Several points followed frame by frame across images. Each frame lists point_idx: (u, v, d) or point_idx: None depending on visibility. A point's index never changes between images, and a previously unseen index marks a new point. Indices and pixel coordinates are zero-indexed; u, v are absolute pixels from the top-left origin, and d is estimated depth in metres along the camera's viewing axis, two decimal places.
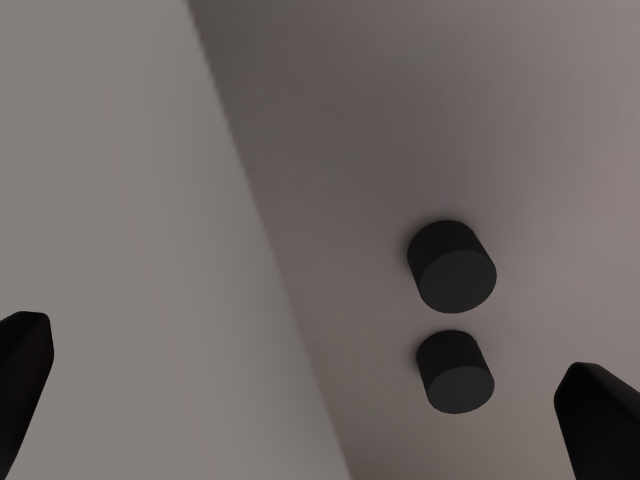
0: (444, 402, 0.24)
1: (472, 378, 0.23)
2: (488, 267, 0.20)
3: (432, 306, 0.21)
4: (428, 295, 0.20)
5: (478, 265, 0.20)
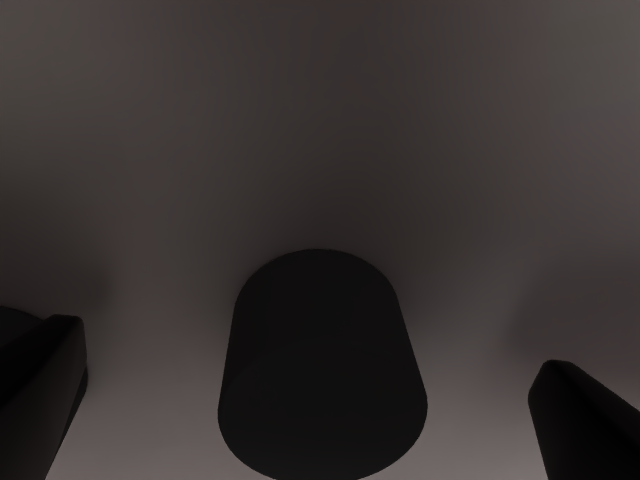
0: None
1: None
2: (368, 467, 0.08)
3: (242, 380, 0.07)
4: (281, 367, 0.07)
5: (377, 450, 0.08)
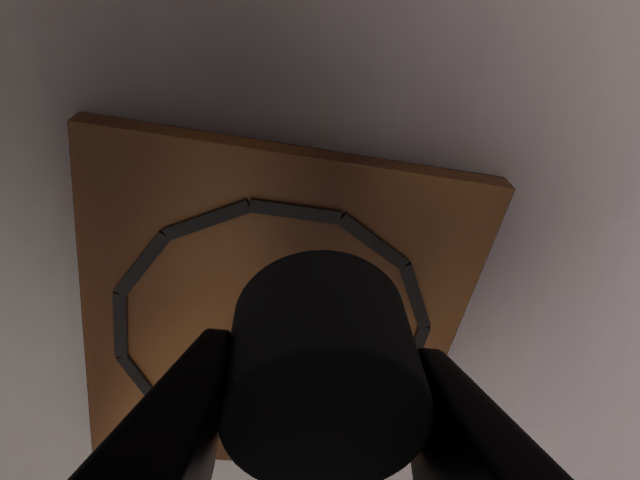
0: None
1: None
2: (372, 475, 0.08)
3: (242, 386, 0.07)
4: (282, 374, 0.07)
5: (381, 458, 0.08)
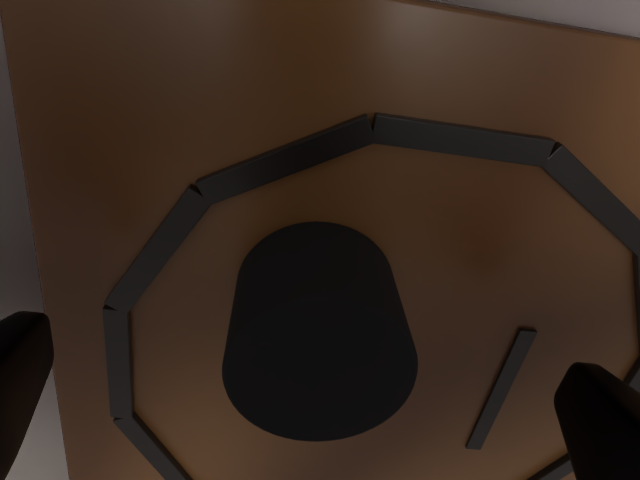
0: None
1: None
2: (362, 424, 0.09)
3: (244, 337, 0.08)
4: (281, 325, 0.07)
5: (371, 407, 0.08)
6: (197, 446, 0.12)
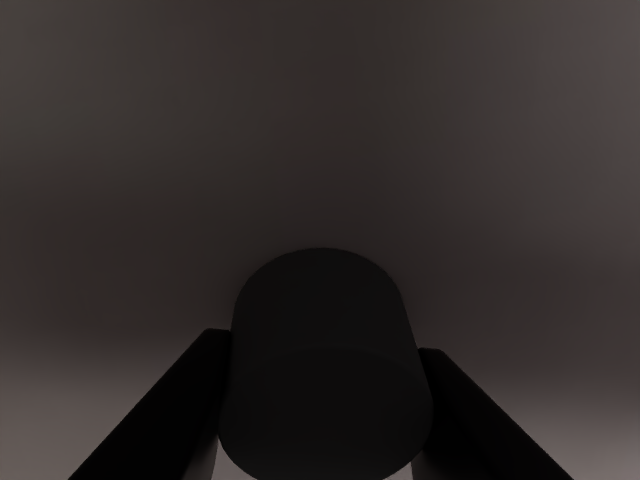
0: (274, 396, 0.07)
1: (380, 445, 0.07)
2: None
3: None
4: None
5: None
6: None
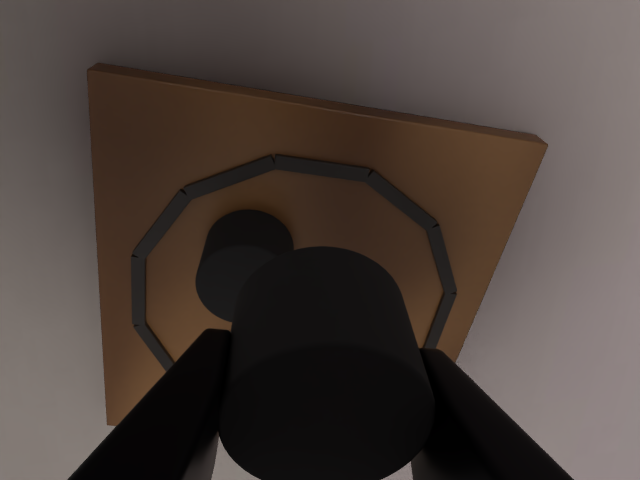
0: (274, 394, 0.07)
1: (381, 443, 0.07)
2: None
3: (206, 264, 0.16)
4: (223, 258, 0.15)
5: None
6: (183, 346, 0.20)
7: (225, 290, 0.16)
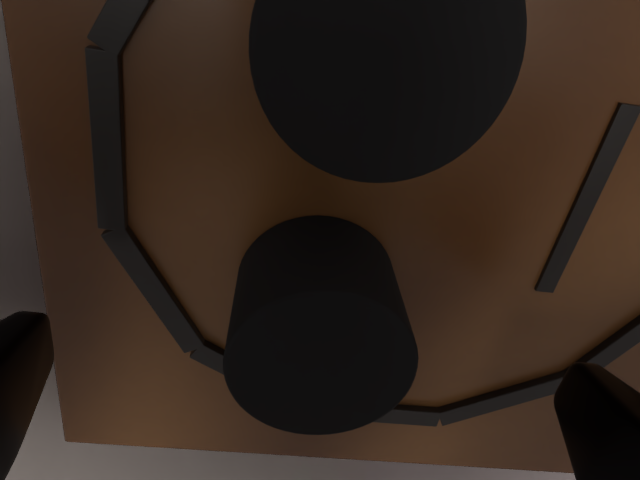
0: (275, 340, 0.08)
1: (370, 388, 0.08)
2: (440, 150, 0.06)
3: None
4: None
5: (454, 116, 0.06)
6: (207, 282, 0.10)
7: (333, 67, 0.06)
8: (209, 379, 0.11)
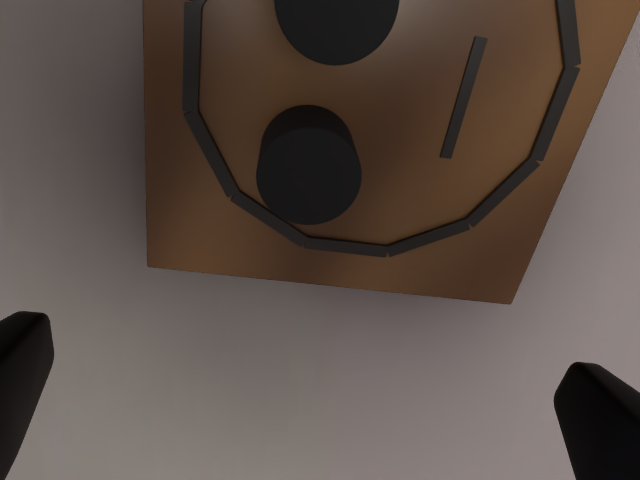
0: (284, 157, 0.15)
1: (335, 191, 0.15)
2: (364, 47, 0.13)
3: None
4: None
5: (369, 29, 0.13)
6: (242, 149, 0.17)
7: (312, 5, 0.13)
8: (241, 219, 0.18)
